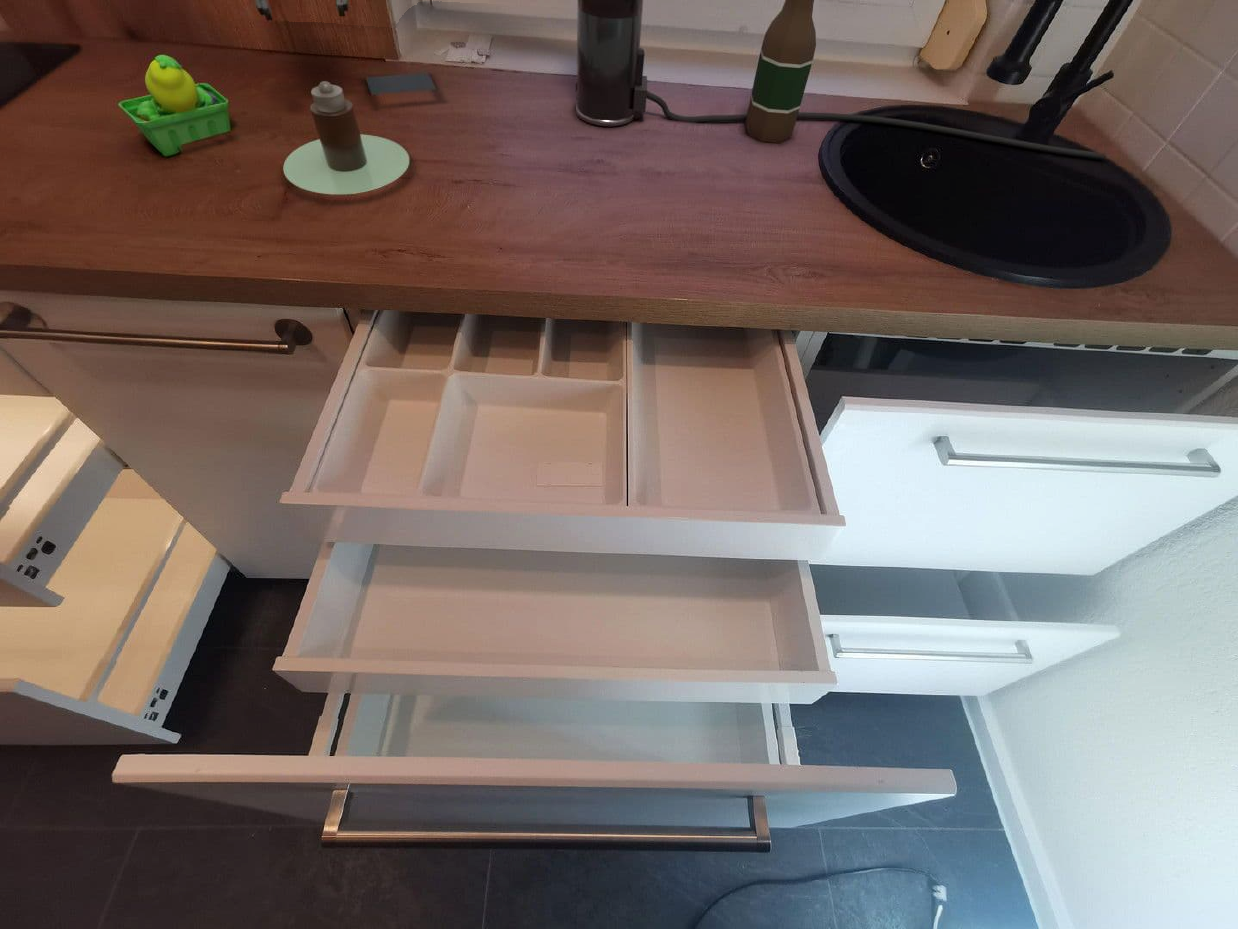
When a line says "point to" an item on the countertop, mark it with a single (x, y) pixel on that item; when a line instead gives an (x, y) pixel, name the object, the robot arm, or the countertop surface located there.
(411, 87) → the mat
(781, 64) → the beer bottle
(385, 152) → the plate
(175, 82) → the fruit basket
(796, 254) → the countertop surface
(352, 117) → the pepper mill
